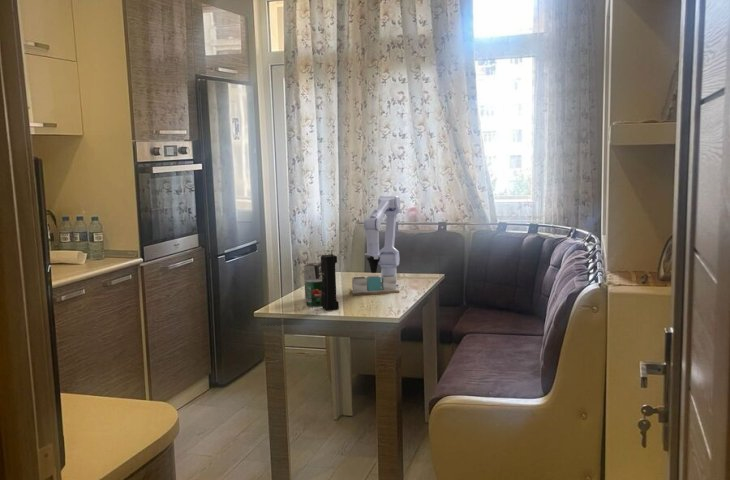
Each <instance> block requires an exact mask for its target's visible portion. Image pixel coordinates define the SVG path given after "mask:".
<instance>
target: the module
mask: <svg viewBox="0 0 730 480" xmlns="http://www.w3.org/2000/svg"><path fill="white" fill-rule="evenodd" d="M365 278H366V280H367V290H368V291H377V290H381V288H382V285H381V276H379V275H369V276H365Z"/></svg>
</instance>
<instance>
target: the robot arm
mask: <svg viewBox="0 0 730 480" xmlns="http://www.w3.org/2000/svg"><path fill="white" fill-rule="evenodd" d="M377 205H378V206H377V208H375V209H374V210H373V211H372V213H371V215H370V216H369V217H367V218H366V219H364V220H363V221H364V222H363V228H364V233H365V235H366V253H365V252H364V256H369V257H367V258H366V259H367V262H368V264H369V267H370V272H371V274H375V273H377V271H378V266H380V268H381V270H380V271H381V272H380V275H381V276H383V275H394V276H396V286H399V285H400V284H399V283H398V280H397V278H398V277H397V267H399V265H400V261H401V260H400V259H401V258H400V251H399V250H398V249H397V248H395V239H396V224H397V215H398V214H399V213H400V210H401V200H400V197H399V196H398V195H385V196H384V195H380V196H379V197H378V200H377ZM385 215H386V219H385V220H386V221H385V233H384V235H385V236H384V246H383V247H382V248H381V249H380V236H379V234H380V233H379V231H380V230H381V225H382V221H383V219H384V217H385ZM381 276H380V277H381ZM381 286H382V280H381Z"/></svg>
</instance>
